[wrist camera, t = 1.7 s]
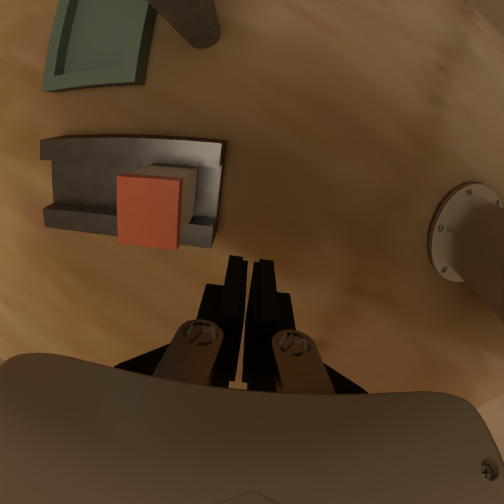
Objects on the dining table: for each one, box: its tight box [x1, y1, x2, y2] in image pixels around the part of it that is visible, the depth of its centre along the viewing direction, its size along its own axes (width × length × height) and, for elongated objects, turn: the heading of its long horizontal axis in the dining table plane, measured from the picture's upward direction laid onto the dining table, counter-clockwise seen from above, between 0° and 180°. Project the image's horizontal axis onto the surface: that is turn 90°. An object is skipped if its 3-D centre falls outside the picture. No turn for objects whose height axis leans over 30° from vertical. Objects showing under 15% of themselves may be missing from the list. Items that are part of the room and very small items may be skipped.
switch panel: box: [40, 134, 227, 248], centre depth 25 cm, size 18×9×4 cm, turn 83°
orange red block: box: [117, 163, 198, 250], centre depth 22 cm, size 4×5×7 cm
